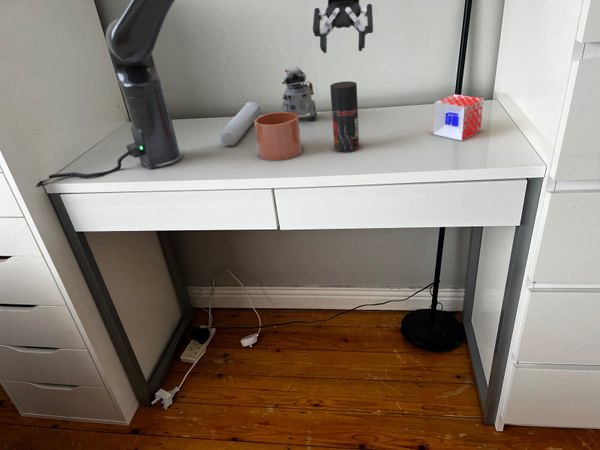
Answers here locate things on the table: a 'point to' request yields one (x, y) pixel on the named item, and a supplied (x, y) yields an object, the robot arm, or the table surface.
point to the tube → (240, 124)
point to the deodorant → (345, 116)
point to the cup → (278, 135)
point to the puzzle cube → (458, 116)
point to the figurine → (298, 94)
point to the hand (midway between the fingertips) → (342, 50)
